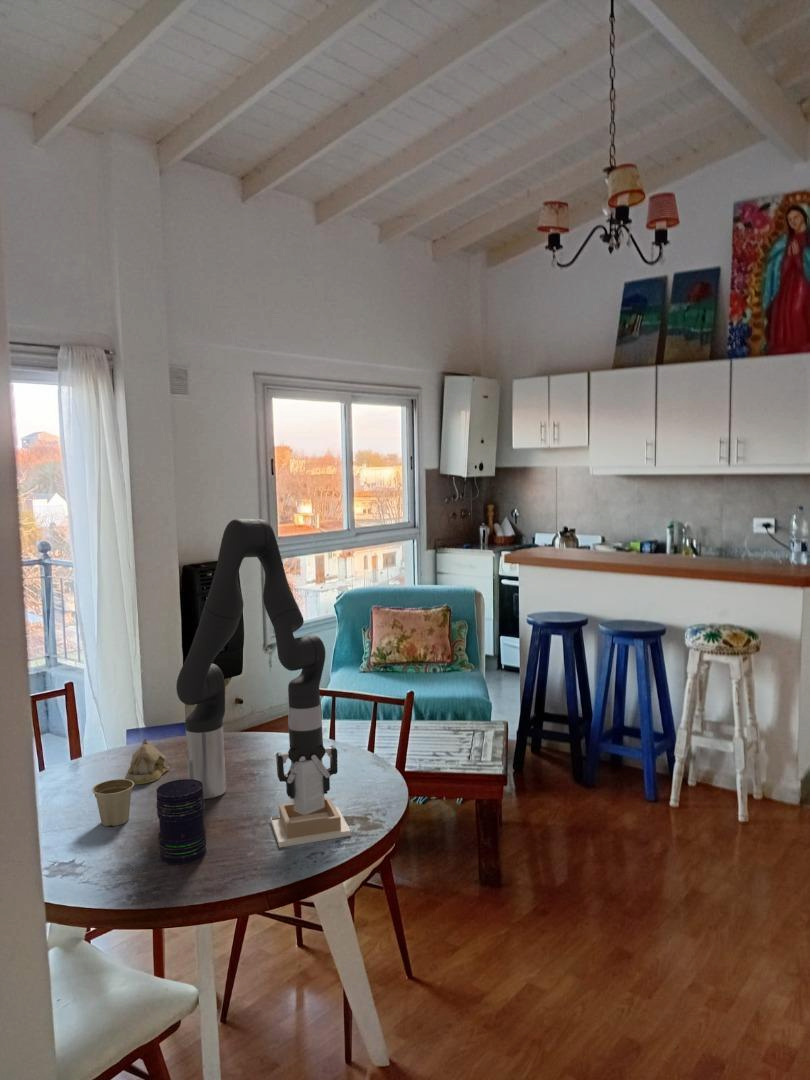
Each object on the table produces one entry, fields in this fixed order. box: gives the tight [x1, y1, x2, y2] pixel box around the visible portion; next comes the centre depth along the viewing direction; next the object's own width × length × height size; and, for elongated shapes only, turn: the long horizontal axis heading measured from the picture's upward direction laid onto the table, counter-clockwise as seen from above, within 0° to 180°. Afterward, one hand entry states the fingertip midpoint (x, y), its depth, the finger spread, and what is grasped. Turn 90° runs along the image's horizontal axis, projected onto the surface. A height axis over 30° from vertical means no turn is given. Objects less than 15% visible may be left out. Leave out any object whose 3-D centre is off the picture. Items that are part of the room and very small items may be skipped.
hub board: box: [270, 796, 352, 848], centre depth 183 cm, size 16×14×4 cm
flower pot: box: [91, 778, 135, 827], centre depth 191 cm, size 9×9×9 cm
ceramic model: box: [125, 739, 170, 786], centre depth 221 cm, size 14×11×10 cm
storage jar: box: [155, 778, 208, 867], centre depth 172 cm, size 10×10×15 cm
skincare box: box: [290, 758, 325, 815], centre depth 183 cm, size 6×4×12 cm
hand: (308, 794), depth 183 cm, fingers closed on skincare box, 7 cm apart
